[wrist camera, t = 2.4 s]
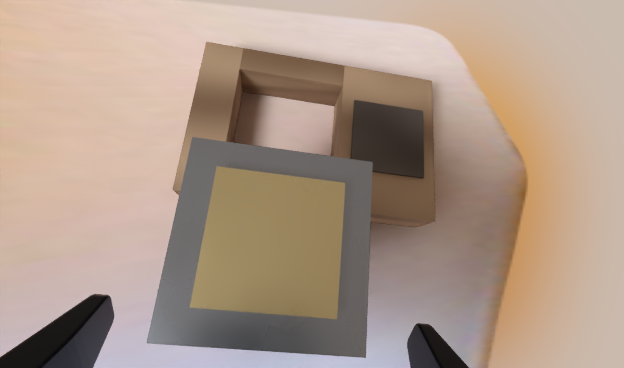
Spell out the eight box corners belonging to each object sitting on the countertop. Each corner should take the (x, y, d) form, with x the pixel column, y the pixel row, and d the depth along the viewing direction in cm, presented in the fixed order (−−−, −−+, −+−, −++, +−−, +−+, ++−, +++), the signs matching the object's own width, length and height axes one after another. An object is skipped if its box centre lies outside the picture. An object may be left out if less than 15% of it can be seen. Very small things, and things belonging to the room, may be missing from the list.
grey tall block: (302, 304, 18) (369, 361, 6) (224, 297, 18) (140, 347, 6) (309, 227, 19) (376, 158, 8) (236, 219, 19) (189, 131, 7)
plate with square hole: (415, 227, 20) (437, 220, 18) (184, 200, 19) (171, 188, 16) (414, 100, 23) (433, 79, 20) (213, 67, 21) (205, 39, 19)
